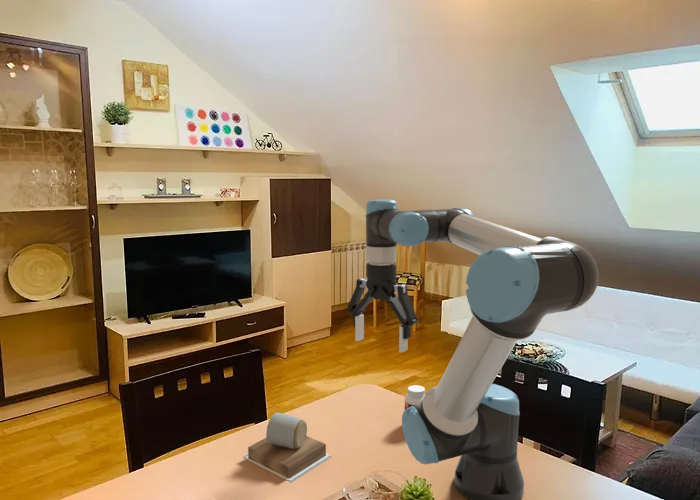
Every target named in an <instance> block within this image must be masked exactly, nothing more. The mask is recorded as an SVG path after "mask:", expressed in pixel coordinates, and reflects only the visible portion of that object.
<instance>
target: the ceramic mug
mask: <svg viewBox="0 0 700 500" xmlns="http://www.w3.org/2000/svg"><path fill="white" fill-rule="evenodd" d="M307 433H308V425H307V423H306V420H304V419H302V418H300V417H298V416H297V417H296V416H292V415H289V414H286V413H282V412H275V413H273V414H272V415H271V417H270V418H269V421H268V424H267V427H266V435H265V436H266V437H265V438H267V441H268V443H269V444H273V445H277V446H283V447H287V448H292V449H297V448H300V447H301V446H302V445H303V443H304V441H305V438H306V436H307Z"/></svg>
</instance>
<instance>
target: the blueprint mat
mask: <svg viewBox="0 0 700 500" xmlns="http://www.w3.org/2000/svg"><path fill="white" fill-rule="evenodd" d="M242 458H244V459H245V460H247V462H248V461H249V462H251V463H252V464H254V465H256V466H259V467H260V468H262V469H264V470H267V471H269V472H270V473H272V474H275V475H276V476H278V477H280V478H282V479H284V480H286V481H288V482H290V483H293V482H294V481H296V480H298V479H299V478H301V477H302V476H304V475H306V474H307V473H309V472H310V471H312V470H313V469H315V468H316V467H319V466H320V465H321V464H323V463H324V462H326V461H327V460H329V459H331V458H332V456H331V455H329V454H328V453H327V452H326V456H324V457H322V458H321V459H319V460H318V461H316V462H315V463H313V464H311V465H310V466H308V467H307V468H305V469H303V470H302V471H300V472H299V473H297V474H296V475H294V476H292V477H291V478H287V477H285V476H283V475H281V474H279V473H277V472H275V471H273V470H271V469H269V468H267V467H265V466H263V465H261V464H259V463H257V462H255V461H253V460H251V459H249V458H248V454H246V455H244V456H243V457H242Z"/></svg>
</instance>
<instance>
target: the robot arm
mask: <svg viewBox="0 0 700 500" xmlns="http://www.w3.org/2000/svg"><path fill="white" fill-rule="evenodd" d="M365 240H366V241H365V243H366V244H365V261H366V262H367V263H366V264H365V270H366V271H365V277H366V278H365V277H362V278H358V279H356V283H355V289H354V290H353V293H352V296H351V298H350V301H349V303H348V305H347V307H346V312H348V313H350V314H352V320H353V321H352V323H353V328H354V330H355V331H354V332H355V333H354V335H355V336H354V338H355V339H354V340H355V342H359V341H362V340H364V339H365V315H364V314H363V311H364V310H365V309H366V308H367V306H368V305H369V304H370V303H371V301H372V300H380V301H382V302H384V301H385V302H386V303H387V304H388V305H389V306H390V308H391V309H392V311H393V312H394V314H395V316H396V317H397V319H398V320H399V322H400V323H401V325H399V328H398V329H399V331H398V332H399V336H398V337H399V339H398V340H399V341H398V353H404V352H406V351H408V350H409V349H408V347H409V344H408V343H409V339H411V333H412V332H411V329H412V328H411V327H412V326H414V325H415V324H418V323H419V318H418V317H417V314H416V311H415V309H414V306H413V304H412V300H411V299H410V296H409V293H408V285H407V284H406V283H404V284H396V283H397V282H396V278H397V264H396V262H397V250H398V249H397V245H401V246H403V247H408V246H409V247H416V246H419V245H420V244H423V243H436V242H447V243H450V244H451V245H454V246H458V247H460V248H462V249H464V250H466V251H469V252H471V253H473V254H476V255H478V256H477V257H476V258H475V260H473V262H472V264H471V265H470V268H469V269H468V273H467V275H466V280H465V281H466V282H465V284H466V285H467V287H468V288H466V289H465V295H466V298H467V302H468V305H469V309H470V312H471V315H472V317H471V319H470V321H469V323H468V325H467V327H466V329H465V330H464V333H463V334H462V337H461V339H460V341H459V342H458V344H457V346H456V349H455V350H454V353H453V355H452V357H451V358H450V361H449V363H448V365H447V366H446V369H445V371H444V373H443V374H442V377H441V378H440V381H439V383H438V384H437V385H436V386H433V387H431V388H429V389H428V390H427V391H425V394H424V397H423V399H422V401H421V403H420V405H418V406H415V407H414V406H411V407H409V408H407V409H405V408H404V411H403V413H402V416H401V427H402V432H403V437H404V439H405V443H406V445H407V448H408V449H409V451H410V453H411V455H412V457H414V459H415V461H418V462H419V463H420V464H422V465H430V464H439V463H440V462H442V461H446V460H447V461H448V460H449V459H453V458H457V457H459V460H458V463H457V465H456V467H455V471H454V485H455V488H456V490H457V491H458V492H459V493H460V495H462V496H463V497H465V498H466V499H468V500H521V499H522V497H523V495H524V492H525V490H524V489H525V482H524V477H523V476H524V475H523V474H522V470H521V467H520V464H519V463H520V462H519V459H518V442H519V440H518V439H519V427H520V426H519V425H520V415H521V412H520V399H519V398H518V395H517V394H516V393H515V392H513V391H512V390H511V389H509V388H507V387H504V386H503V385H499V384H496V383H494V381H495V379H496V377H498V374H499V372H501V369H502V368H503V366H504V364H505V362H506V361H507V359H508V358H509V356H510V354H511V352H512V351H513V350H514V348H515V345H516V344H517V342H518V341H522V340H526V339H528V338H530V337H531V336H532V335H534V332H535V331H536V329H537V327H538V326H539V324H540V323H541V322H542V319H543V318H544V317H545V316H547V315H549V314H555V313H561V312H566V311H573V310H575V309H577V308H580V307H582V306H583V305H584V304H586V303H587V302H588V301H589V300H591V298H592V296H593V295H594V293H595V292H596V290H597V287H598V285H599V278H600V277H599V268H598V265H597V262H596V260H595V258H594V257H593V256H592V255H591V253H590V251H588V250H587V249H586V248H584V247H582V246H581V245H579V244H576V243H574V242H571V241H568V240H564V239H561V238H559V237H554V236H546V237H543V238H541V237H537V236H534V235H531V234H528V233H525V232H523V231H518V230H516V229H513V228H509V227H507V226H505V225H504V226H503V225H500V224H497V223H494V222H491V221H488V220H485V219H481V218H479V217H476V216H475V214H473V212H472V211H471V210H470V209H467V208H459V207H453V208H442V209H440V208H439V209H422V210H421V209H420V210H417V209H416V210H399V209H398V203H397V201H396V200H394V199H371V200H368V202H366V211H365ZM366 288H367V292H366V293H365V294H364V292H365V289H366ZM363 294H364V296H363ZM362 296H363V297H362Z"/></svg>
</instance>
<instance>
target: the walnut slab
mask: <svg viewBox="0 0 700 500" xmlns="http://www.w3.org/2000/svg"><path fill="white" fill-rule="evenodd" d="M326 445H327V444H326V443H324V442H322V441H319V440H318V439H315V438H313V437H310V436H308V435H306V438H305V441H304V443H303V445H302V446H301V447H300V448H297V449H292V448H287V447H283V446H277V445H273V444H269V443H268V441H267V437H265V438H263V439H261V440H260V441H257V442H255V443H254V444H251V445H250V446H248V447H247V452H248V454H247V455H248V458H249V459H251V460H253V461H255V462H257V463H259V464H261V465H263V466H265V467H267V468H269V469H271V470H273V471H275V472H277V473H279V474H281V475H283V476H285V477H287V478H291V477H292V476H294V475H296V474H297V473H299V472H300V471H302V470H303V469H305V468H307V467H308V466H310V465H311V464H313V463H315V462H316V461H318V460H319V459H321V458H322V457H324V456H326V453H327V446H326Z"/></svg>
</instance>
